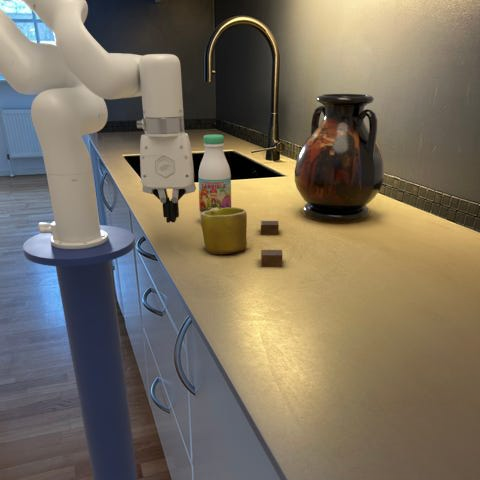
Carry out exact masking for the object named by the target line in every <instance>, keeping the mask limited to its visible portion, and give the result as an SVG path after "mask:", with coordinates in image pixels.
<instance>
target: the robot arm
mask: <svg viewBox="0 0 480 480" xmlns="http://www.w3.org/2000/svg"><path fill="white" fill-rule="evenodd" d="M1 1H3V2H23V3H24V4H25V5H27V7H28V8H29V9H30V10H31V11H32V12H33V13H34V14H35V15H36V16H37V17H38V19H39V20H40V21H41V22H42V23H44V26H46V27H47V28H48V29H49V30H50V32H51V33H53V36H54V42H55V44H52V43H43V42H40V43H39V42H35V41H32V40H30V38H29V37H27V36H26V35H25V34H24V33H23V31H22V30H21V29H20V28H19V27H18V25H17V24H16V23H15V21H13V19H12V18H11V17H10V16H9V15H8V14H7V13H6V12H5V11H4V10H3V9H1V8H0V75H1V76H2V77H3V79H4V80H5V81H6V82H7V83H8V85H9V86H10V87H11V88H12V89H13V90H14V91H16V93H19V94H21V95H27V96H28V95H29V96H36V97H35V98H34V99H33V100H32V103H31V106H30V116H31V117H30V118H31V121H32V125H33V128H34V131H35V134H36V136H37V138H38V143H39V145H40V149H41V153H42V157H43V158H42V159H43V162H44V168H45V169H44V170H45V173H46V180H47V184H48V191H49V195H50V197H49V198H50V203H51V209H52V215H53V221H52V222H50V223H49V222H39V223H38V224H37V229H38V231H39V234H40V233H51V235H53V236H52V237H51V238H50V241H51V245H52V246H54V247H56V248H60V249H68V250H75V249H86V248H91V247H96V246H99V245H101V244H103V243H105V242H106V241H107V240H108V233H107V232H105V231H103V230H100V225H101V224H100V215H99V208H98V201H97V194H96V183H95V178H94V170H93V163H92V157H91V154H90V152H89V149H88V147H87V145H86V143H85V141H84V138H83V136H87V135H91V134H95V133H98V132H100V131H101V130H102V129H104V127H105V126H106V124H107V122H108V116H109V113H108V107H107V104H106V101H105V100H118V99H129V98H138V97H141V103H142V114H143V117H142V119H140V120H136V128H137V129H143V132H144V133H143V134H141V135H140V141H139V144H140V145H139V146H140V147H139V161H140V163H139V167H140V182H141V185H142V192H143V193H146V194H150V195H154V196H155V197H156V198H157V199H158V200H159V201H160V203H161V204H162V214H163V215H162V216H163V218H165V219H166V223H167V224H168V223H169V224H170V223H176V220H177V218H179V217H180V210H179V209H180V208H179V201H180V200H181V199H182V197H183V196H184V195H187V194H192V193H194V192H196V190H197V186H196V183H195V168H194V160H193V152H192V146H191V141H190V137H189V134H188V133H187V132H186V131H185V118H184V101H183V88H182V87H183V85H182V84H183V83H182V82H183V81H182V70H181V69H182V66H181V62H180V59H179V57H178V56H177V55H175V54H171V53H150V54H149V53H148V54H143V55H140V54H134V53H120V52H108V51H107V50H106V49H105V48H104V47H102V45H101V44H100V43H99V42H98V41H97V40H96V39H95V38H94V37H93V36H92V34H91V33H90V32H89V31H88V29H87V28H86V26H85V25H84V24H85V22H86V20H87V17H88V13H89V6H88V5H89V4H88V3H87V1H86V0H1ZM168 190H171V191H172V193H171V199H170V197H169V195H168Z"/></svg>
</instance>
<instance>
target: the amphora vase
mask: <svg viewBox="0 0 480 480" xmlns="http://www.w3.org/2000/svg"><path fill="white" fill-rule="evenodd" d="M374 99H375V97H374V96H373V95H371V94H370V95H369V94H364V93H363V94H362V93H326V94H320V95H318V96H317V97H316V101H317V102H318V103H320V104H322V105H319V106H318V107H316V108H315V110H314V112H313V114H312V119H311V123H310V124H311V127H310V128H311V129H310V136H309V137H308V138H307V139H306V141H304V143H303V145H302V147H301V148H300V151H299V152H298V156H297V157H296V162H295V167H294V183H295V186H296V190H297V191H298V193H299V194H300V196H301V198H302V199H303V200H304V202H306V203H304V206H303V207H302V212H303V214H304V215H305V216H307V217H308V218H310V219H311V220H312V219H313V220H314V221H319V222H324V223H331V224H332V223H334V224H347V223H349V224H350V223H355V222H359V221H361V220H365V219H366V218H367V217H368V216H369V214H370V210H369V207H368V206H367V205H368V204H369V203H370V202H371V201H372V200H374V199H375V198H376V196H377V195H378V194H379V193H380V190H381V189H382V186H383V183H384V177H385V164H384V162H385V161H384V157H383V151H382V149H381V146H380V143H379V142H378V140H377V134H378V118H377V115H376V112H374V110H372V109H365V108H366V107H365V106H367V105H369V104H371V103H373V102H374ZM322 114H323V120H321V123H320V118H321V115H322ZM366 117H367V118H368V127H367V125H366V123H365V121H364V119H365V118H366ZM319 123H320V124H319Z"/></svg>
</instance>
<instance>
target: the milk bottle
mask: <svg viewBox="0 0 480 480" xmlns="http://www.w3.org/2000/svg"><path fill="white" fill-rule="evenodd" d="M224 142H225V137H224V135H222V134H205V135H203V147H204V153H203V157H202V158H201V161H200V164H199V169H198V204H199V205H198V207H199V208H198V209H199V221H200V222H201V214H202V212H204V211H209V210H210V209H213V208H219V209H221V208H231V207H232V174H231V168H230V165H229V163H228V160H227V158H226V155H225V151H224V146H225V144H224Z"/></svg>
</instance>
